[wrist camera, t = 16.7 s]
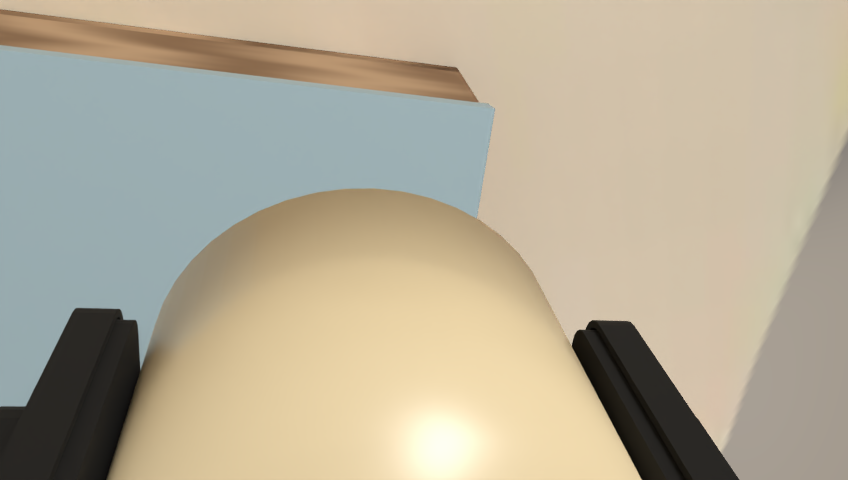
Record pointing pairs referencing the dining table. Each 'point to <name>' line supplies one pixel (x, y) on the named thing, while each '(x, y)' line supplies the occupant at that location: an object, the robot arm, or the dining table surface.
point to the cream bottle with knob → (363, 356)
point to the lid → (182, 177)
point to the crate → (230, 55)
